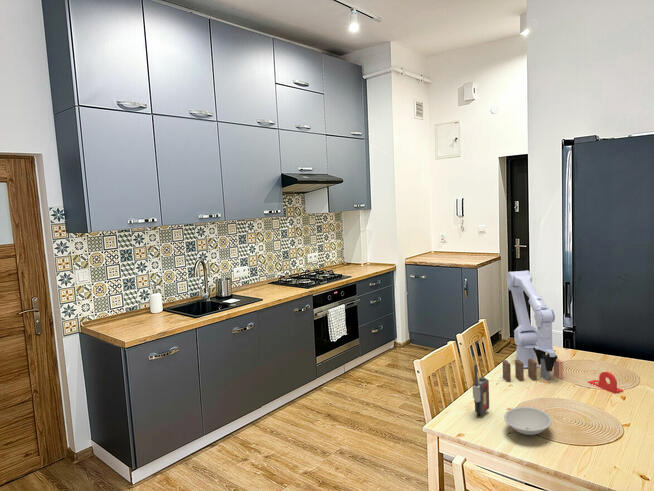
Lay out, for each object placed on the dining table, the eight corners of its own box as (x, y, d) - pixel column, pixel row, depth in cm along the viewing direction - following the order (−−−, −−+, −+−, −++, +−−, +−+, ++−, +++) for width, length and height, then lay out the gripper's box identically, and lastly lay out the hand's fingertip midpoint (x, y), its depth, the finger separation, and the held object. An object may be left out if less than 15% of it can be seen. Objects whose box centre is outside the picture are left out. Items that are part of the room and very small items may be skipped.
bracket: (623, 393, 174) (623, 373, 173) (614, 395, 173) (614, 375, 172) (596, 382, 185) (595, 363, 185) (587, 384, 184) (587, 365, 183)
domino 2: (533, 381, 190) (532, 363, 189) (528, 376, 195) (527, 359, 194) (536, 381, 190) (536, 362, 189) (531, 376, 195) (531, 358, 194)
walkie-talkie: (479, 420, 159) (477, 366, 157) (467, 416, 162) (466, 363, 160) (490, 411, 165) (488, 359, 163) (478, 408, 168) (477, 356, 166)
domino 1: (520, 381, 190) (519, 363, 189) (515, 377, 195) (515, 359, 194) (523, 381, 190) (523, 363, 189) (519, 377, 195) (518, 359, 194)
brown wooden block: (507, 382, 190) (506, 364, 189) (502, 377, 195) (502, 360, 194) (510, 382, 190) (510, 364, 189) (506, 377, 195) (506, 360, 194)
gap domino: (546, 380, 189) (545, 362, 189) (540, 376, 194) (540, 358, 194) (550, 380, 189) (549, 362, 189) (544, 376, 194) (544, 358, 194)
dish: (513, 416, 160) (513, 402, 160) (557, 427, 151) (557, 413, 151) (497, 437, 147) (496, 423, 146) (544, 450, 138) (543, 435, 137)
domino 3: (559, 380, 189) (558, 362, 188) (553, 375, 194) (553, 358, 193) (563, 380, 189) (562, 361, 188) (557, 375, 194) (557, 357, 193)
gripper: (528, 332, 198) (528, 362, 199) (542, 342, 183) (543, 374, 184) (544, 331, 197) (544, 361, 199) (560, 341, 183) (560, 373, 184)
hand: (545, 367), depth 191 cm, fingers open, 7 cm apart
